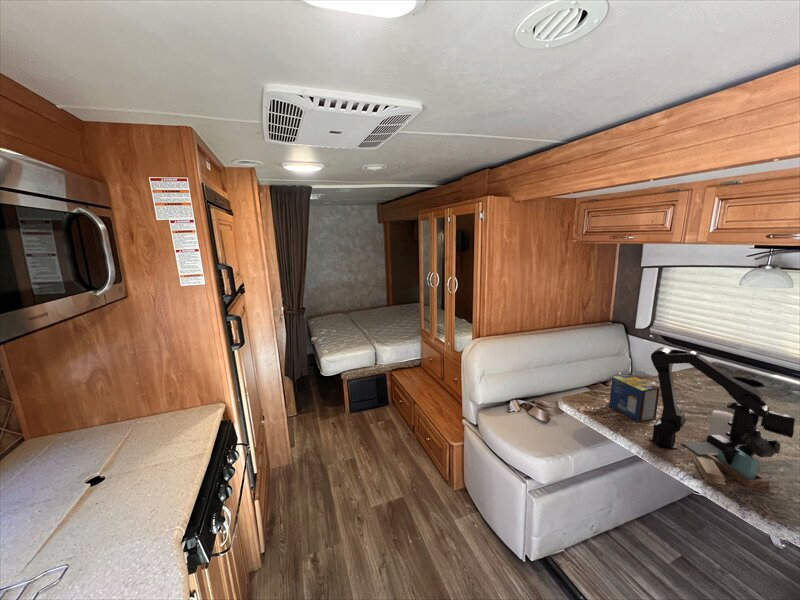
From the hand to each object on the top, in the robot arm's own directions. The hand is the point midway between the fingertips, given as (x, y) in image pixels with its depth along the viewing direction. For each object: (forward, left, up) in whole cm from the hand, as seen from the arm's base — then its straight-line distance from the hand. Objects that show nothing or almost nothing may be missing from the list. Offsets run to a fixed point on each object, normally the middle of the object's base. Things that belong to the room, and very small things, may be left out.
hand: (736, 463), depth 109 cm
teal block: (0, 0, -3) cm, 3 cm away
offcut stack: (-9, 0, -4) cm, 10 cm away
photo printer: (+14, +16, -3) cm, 22 cm away
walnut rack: (0, 0, -3) cm, 3 cm away
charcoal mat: (+2, +12, -3) cm, 13 cm away
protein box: (-6, +40, -3) cm, 41 cm away
